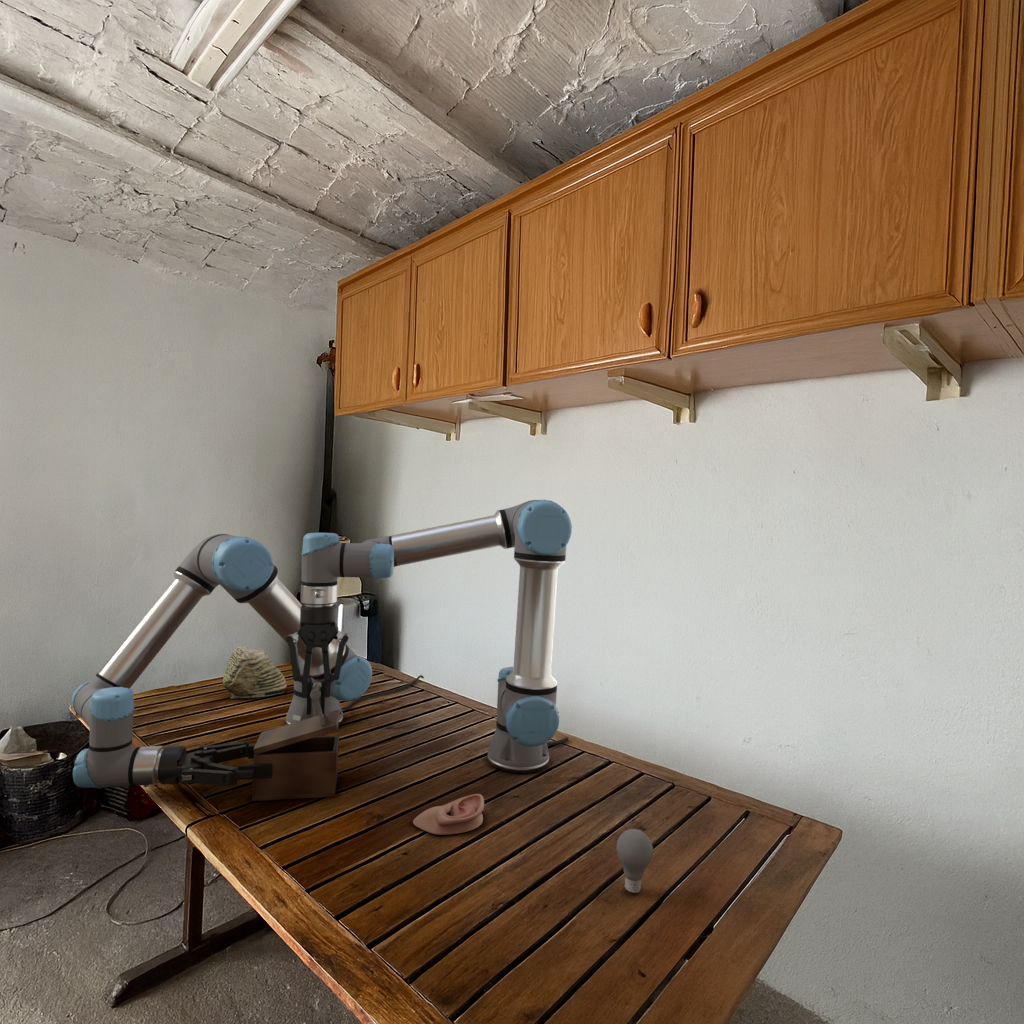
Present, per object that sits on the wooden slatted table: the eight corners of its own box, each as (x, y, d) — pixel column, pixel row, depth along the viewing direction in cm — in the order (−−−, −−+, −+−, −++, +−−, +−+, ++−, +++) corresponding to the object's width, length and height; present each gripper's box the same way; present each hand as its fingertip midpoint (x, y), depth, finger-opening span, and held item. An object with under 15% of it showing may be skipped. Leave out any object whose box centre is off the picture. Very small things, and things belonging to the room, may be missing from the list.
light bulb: (610, 879, 108) (613, 822, 108) (644, 879, 109) (647, 822, 109) (619, 902, 102) (622, 840, 102) (655, 901, 103) (658, 840, 103)
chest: (337, 776, 144) (339, 735, 143) (334, 796, 134) (336, 752, 134) (260, 780, 140) (262, 737, 140) (252, 801, 131) (253, 755, 130)
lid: (340, 714, 143) (330, 676, 143) (337, 730, 134) (327, 689, 133) (262, 737, 140) (252, 698, 139) (254, 755, 130) (243, 712, 130)
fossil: (218, 695, 195) (220, 647, 195) (278, 685, 208) (279, 640, 207) (228, 703, 189) (230, 653, 188) (289, 692, 201) (290, 645, 201)
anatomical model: (407, 809, 121) (427, 784, 133) (406, 830, 121) (426, 802, 133) (474, 819, 119) (489, 792, 130) (473, 840, 119) (488, 811, 130)
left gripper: (177, 761, 142) (282, 756, 147) (142, 809, 120) (266, 802, 125) (179, 727, 142) (283, 724, 147) (143, 770, 120) (267, 764, 125)
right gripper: (279, 607, 132) (276, 719, 132) (354, 607, 135) (351, 716, 135) (284, 601, 139) (281, 707, 140) (355, 601, 142) (352, 705, 143)
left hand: (275, 760), depth 136 cm, fingers closed on chest, 10 cm apart
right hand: (315, 711), depth 137 cm, fingers closed on lid, 2 cm apart
